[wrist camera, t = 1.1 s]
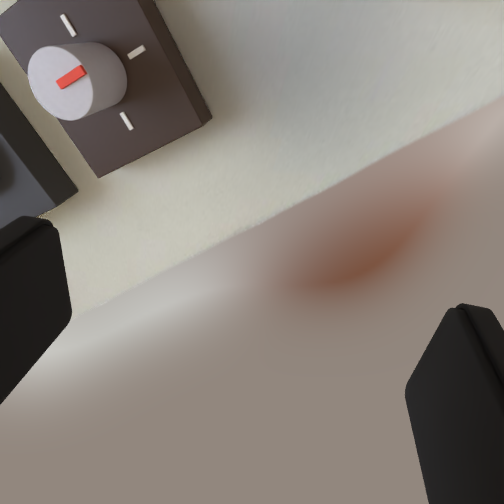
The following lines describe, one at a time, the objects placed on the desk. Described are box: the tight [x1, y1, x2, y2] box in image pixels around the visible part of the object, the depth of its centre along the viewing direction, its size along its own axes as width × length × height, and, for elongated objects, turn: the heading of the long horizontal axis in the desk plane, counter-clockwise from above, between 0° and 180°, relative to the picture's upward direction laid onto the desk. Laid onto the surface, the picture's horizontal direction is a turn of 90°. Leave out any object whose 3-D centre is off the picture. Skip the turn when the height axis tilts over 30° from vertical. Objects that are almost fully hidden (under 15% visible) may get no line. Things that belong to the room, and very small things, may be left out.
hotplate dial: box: [28, 42, 127, 121], centre depth 26 cm, size 4×4×5 cm
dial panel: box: [0, 0, 212, 178], centre depth 29 cm, size 13×11×3 cm
